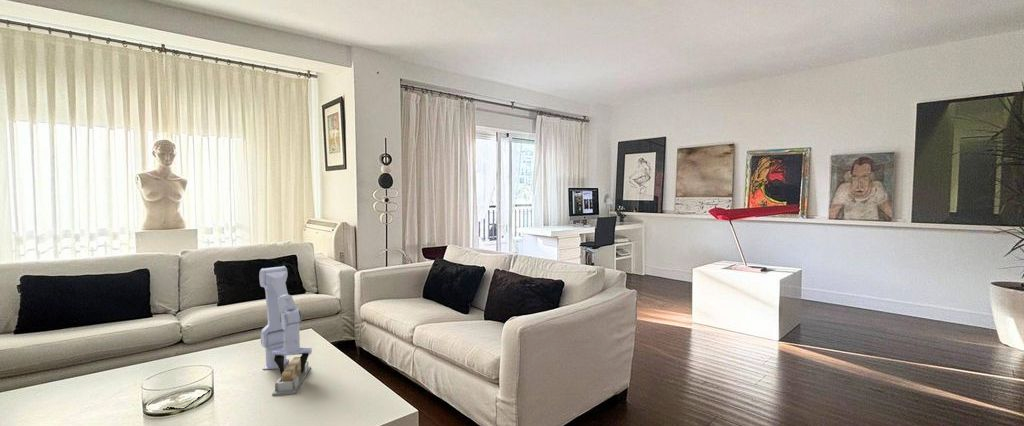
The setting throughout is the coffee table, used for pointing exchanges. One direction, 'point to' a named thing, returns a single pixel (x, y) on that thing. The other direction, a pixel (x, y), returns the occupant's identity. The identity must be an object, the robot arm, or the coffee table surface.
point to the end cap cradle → (290, 383)
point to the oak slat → (292, 370)
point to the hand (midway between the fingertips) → (292, 372)
